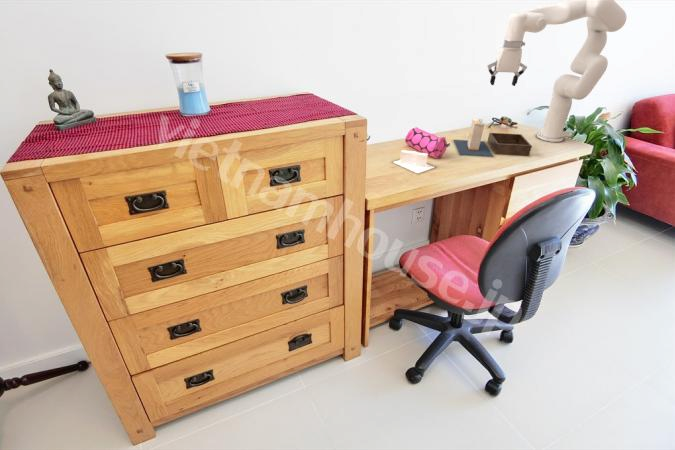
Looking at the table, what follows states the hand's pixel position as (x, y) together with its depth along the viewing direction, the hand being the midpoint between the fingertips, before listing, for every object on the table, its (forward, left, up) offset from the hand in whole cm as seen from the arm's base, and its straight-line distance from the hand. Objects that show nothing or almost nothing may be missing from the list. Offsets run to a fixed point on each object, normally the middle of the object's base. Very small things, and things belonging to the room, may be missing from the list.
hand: (502, 85), depth 174 cm
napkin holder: (+40, +35, -28) cm, 60 cm away
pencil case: (+34, +18, -28) cm, 48 cm away
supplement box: (+10, +10, -28) cm, 31 cm away
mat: (+10, +10, -28) cm, 31 cm away
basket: (-7, +8, -28) cm, 30 cm away
